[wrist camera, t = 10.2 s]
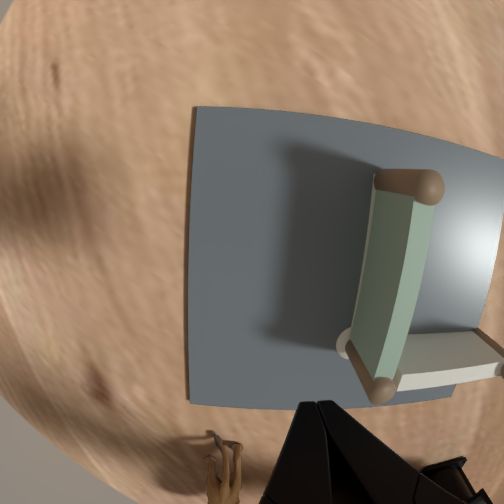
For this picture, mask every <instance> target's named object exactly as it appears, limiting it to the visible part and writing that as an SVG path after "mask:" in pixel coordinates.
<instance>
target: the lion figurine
mask: <svg viewBox="0 0 504 504" xmlns="http://www.w3.org/2000/svg"><path fill="white" fill-rule="evenodd" d="M213 437H214V440H215V442H216V445H217V446H218V447H219V449H220V451H221V453H222V457H223V479H222V481H221V479H220V478H219V476H218V474H217V472H216V467H217V462H216V459H215V458H214V457H211V456H208V457H206V458H205V462H206V463H207V464H209V473H208V477H207V497H208V504H239V502H240V501H239V497H238V496H239V490H240V489H241V488H242V485H241V477H242V476H241V459H242V458H241V451H242V450H243V446H242V444H234V445H233V446H232V450H233V463H234V468H233V472H232V474H231V476H230V478H229V459H228V455H227V452H226V450H225V447H224V446H223V443H222V438H220V437H219V436H218V435H214V436H213Z"/></svg>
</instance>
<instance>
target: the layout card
mask: <svg viewBox="0 0 504 504" xmlns="http://www.w3.org/2000/svg"><path fill="white" fill-rule="evenodd" d="M381 169H431V170H435V171H437V172H438V173H439V174H440V175H441V176H442V178H443V181H444V184H445V192H444V195H443V198H442V199H441V201H440V202H439V203H438V204H436V205H435V208H434V215H433V222H432V228H431V234H430V240H429V246H428V251H427V256H426V261H425V266H424V271H423V276H422V280H421V285H420V289H419V293H418V297H417V301H416V305H415V309H414V313H413V317H412V320H411V324H410V328H409V331H408V334H430V333H449V332H465V331H473V330H474V329H477V328H478V324H479V321H480V318H481V315H482V311H483V308H484V304H485V301H486V297H487V293H488V289H489V285H490V281H491V277H492V273H493V268H494V264H495V259H496V254H497V249H498V243H499V238H500V232H501V225H502V218H503V211H504V159H501V158H498V157H495V156H492V155H489V154H486V153H483V152H480V151H477V150H474V149H471V148H468V147H464V146H461V145H458V144H454V143H451V142H447V141H444V140H440V139H436V138H432V137H428V136H424V135H420V134H416V133H412V132H408V131H403V130H399V129H394V128H390V127H385V126H380V125H375V124H370V123H364V122H359V121H353V120H347V119H341V118H334V117H327V116H320V115H312V114H304V113H296V112H286V111H276V110H264V109H251V108H233V107H206V106H197V114H196V126H195V139H194V152H193V167H192V184H191V203H190V228H189V263H188V353H189V388H190V404H198V405H208V406H219V407H232V408H248V409H272V410H296V409H297V407H298V404H299V402H302V401H314V402H317V401H320V400H333V401H334V402H335V403H337V404H338V405H339V406H340V407H341V408H342V409H348V408H364V407H376V406H387V405H397V404H405V403H413V402H420V401H427V400H434V399H440V398H446V397H451V395H452V393H453V391H454V388H455V386H456V384H452V385H445V386H439V387H431V388H424V389H415V390H406V391H396V392H395V394H394V396H393V397H392V398H391V399H390V400H389V401H387V402H385V403H383V404H379V405H376V404H372V403H371V402H370V401H369V399H368V397H367V395H366V393H365V391H364V388H363V386H362V384H361V382H360V380H359V378H358V376H357V374H356V372H355V370H354V368H353V366H352V364H351V362H350V360H349V358H348V356H347V354H346V351H345V345H346V343H347V342H348V341H349V340H350V336H351V332H352V327H353V323H354V318H355V314H356V309H357V304H358V299H359V294H360V289H361V284H362V279H363V273H364V268H365V262H366V256H367V250H368V244H369V237H370V231H371V224H372V216H373V209H374V201H375V192H376V189H375V187H374V177H375V175H376V173H377V172H378V171H379V170H381Z"/></svg>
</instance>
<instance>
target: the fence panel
mask: <svg viewBox="0 0 504 504" xmlns="http://www.w3.org/2000/svg"><path fill="white" fill-rule="evenodd" d="M374 187H375V189H376V192H375V201H374V209H373V216H372V224H371V231H370V237H369V244H368V250H367V256H366V262H365V268H364V273H363V279H362V284H361V289H360V294H359V299H358V304H357V309H356V314H355V318H354V323H353V327H352V332H351V336H350V340H349V341H348V342H347V343H346V345H345V351H346V354H347V356H348V358H349V360H350V362H351V364H352V366H353V368H354V370H355V372H356V374H357V376H358V378H359V380H360V382H361V384H362V386H363V388H364V391H365V393H366V395H367V397H368V399H369V401H370V402H371V403H372V404H376V405H379V404H383V403H385V402H387V401H389V400H390V399H391V398H392V397H393V396H394V394H395V392H396V386H395V384H394V382H393V381H392V380H393V378H394V375H395V372H396V369H397V366H398V363H399V360H400V357H401V354H402V351H403V348H404V345H405V341H406V338H407V335H408V331H409V328H410V324H411V320H412V317H413V313H414V309H415V305H416V301H417V297H418V293H419V289H420V285H421V280H422V276H423V271H424V266H425V261H426V256H427V251H428V246H429V240H430V234H431V228H432V222H433V215H434V208H435V205H436V204H438V203H439V202H440V201H441V199H442V198H443V195H444V192H445V184H444V181H443V178H442V176H441V175H440V174H439V173H438V172H437V171H435V170H431V169H381V170H379V171H378V172H377V173H376V175H375V177H374Z"/></svg>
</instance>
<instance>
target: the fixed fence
mask: <svg viewBox="0 0 504 504" xmlns="http://www.w3.org/2000/svg"><path fill="white" fill-rule="evenodd" d="M499 375H501V376H502V377H503V378H504V349H503V348H502V347H501V346H500V345H499V344H497V343H496V342H495V341H494V340H493V339H491V338H490V337H489V336H488V335H486V334H485V333H484V332H483V331H481V330H480V329H479V328H477V329H474V330H473V331H465V332H449V333H430V334H408V335H407V338H406V341H405V345H404V348H403V351H402V354H401V357H400V360H399V363H398V366H397V369H396V372H395V375H394V378H393V380H392V381H393V382H394V384H395V386H396V391H406V390H415V389H424V388H431V387H439V386H445V385H452V384H458V383H464V382H469V381H475V380H480V379H485V378H490V377H495V376H499Z"/></svg>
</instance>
